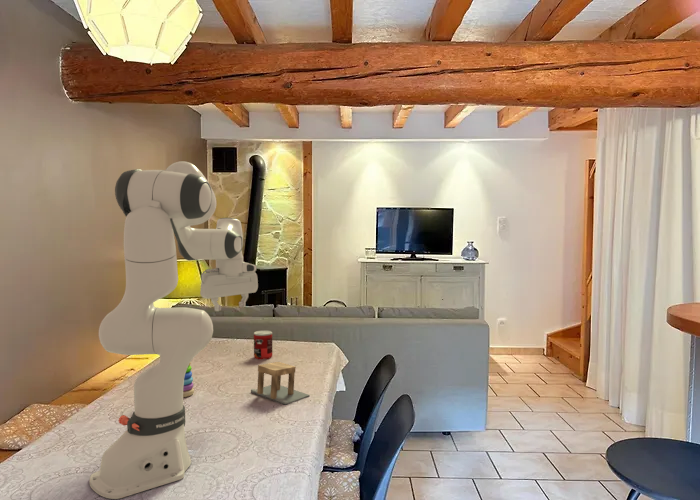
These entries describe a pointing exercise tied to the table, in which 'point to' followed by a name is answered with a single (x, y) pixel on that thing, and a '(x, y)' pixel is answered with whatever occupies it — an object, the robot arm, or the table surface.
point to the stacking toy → (188, 383)
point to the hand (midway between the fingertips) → (230, 308)
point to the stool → (276, 377)
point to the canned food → (263, 344)
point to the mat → (281, 395)
